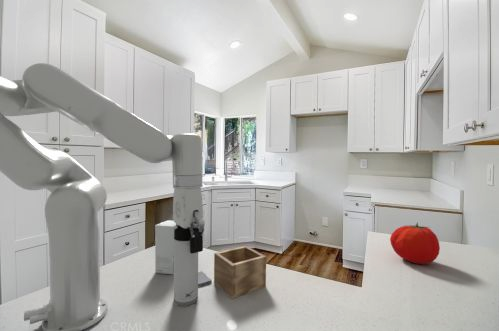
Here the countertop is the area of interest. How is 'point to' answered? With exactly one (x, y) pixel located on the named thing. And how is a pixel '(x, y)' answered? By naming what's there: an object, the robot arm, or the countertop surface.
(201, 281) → the slate coaster
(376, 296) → the countertop surface
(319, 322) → the countertop surface
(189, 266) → the travel mug
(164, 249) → the skincare box
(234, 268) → the open wooden box
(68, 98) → the robot arm
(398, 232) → the tomato
